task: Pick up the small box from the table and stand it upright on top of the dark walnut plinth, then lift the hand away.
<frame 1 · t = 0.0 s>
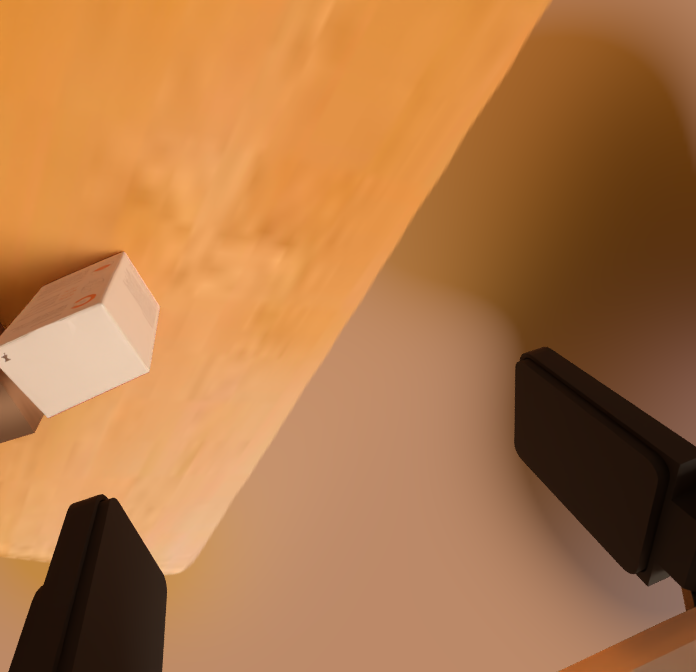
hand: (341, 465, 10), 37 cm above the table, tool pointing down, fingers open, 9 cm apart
small box: (104, 296, 42), on the table
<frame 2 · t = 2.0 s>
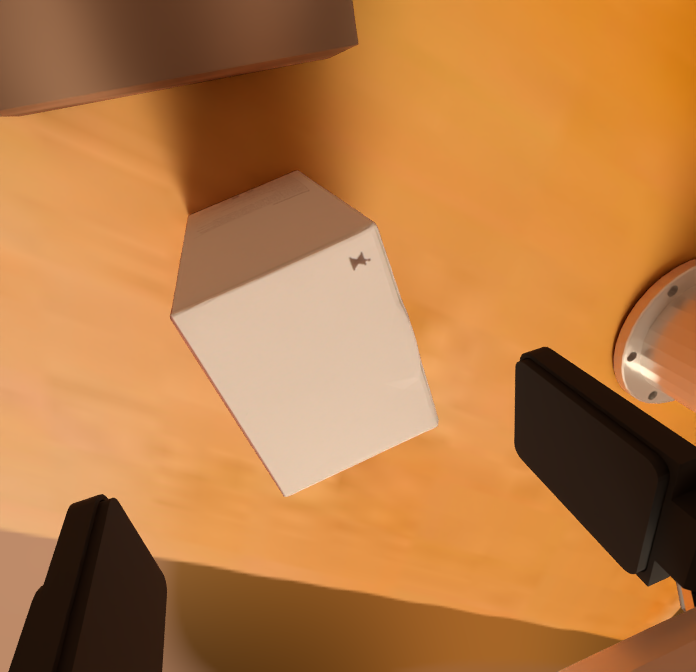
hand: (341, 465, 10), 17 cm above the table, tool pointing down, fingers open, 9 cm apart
small box: (273, 258, 25), on the table
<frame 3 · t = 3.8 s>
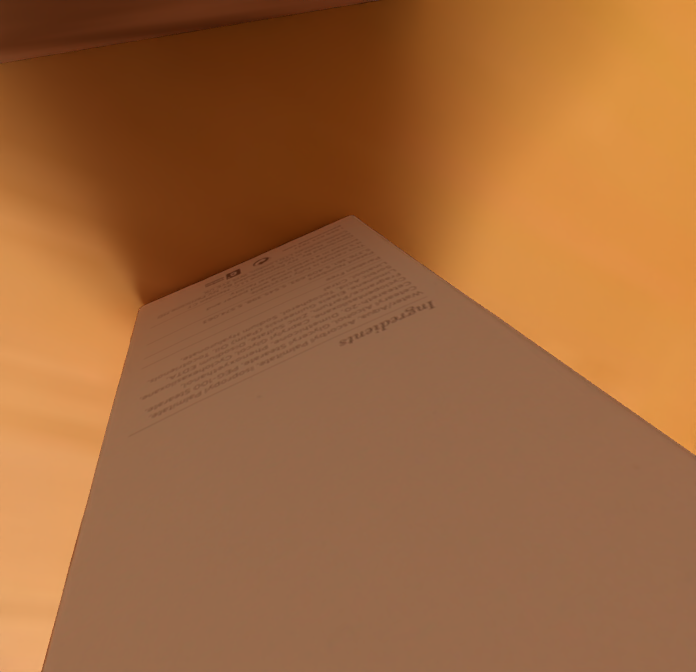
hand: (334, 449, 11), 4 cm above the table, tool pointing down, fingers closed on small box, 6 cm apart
small box: (300, 367, 14), on the table, touching gripper
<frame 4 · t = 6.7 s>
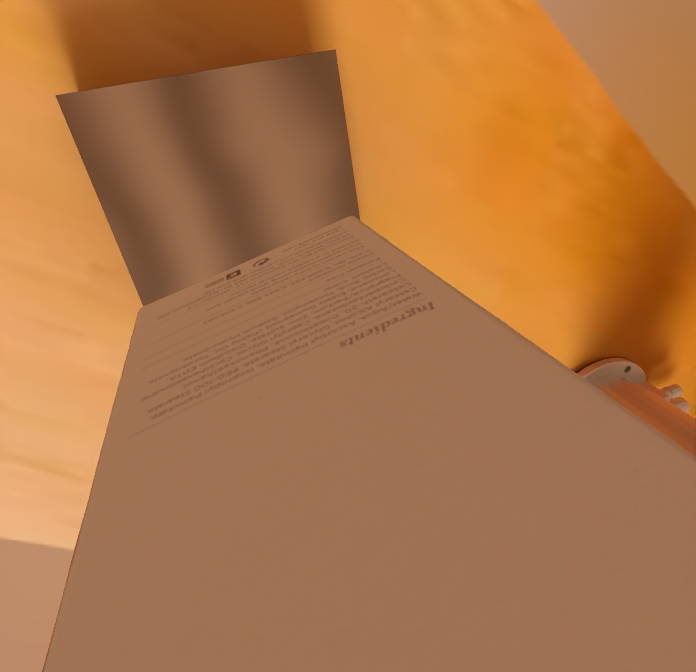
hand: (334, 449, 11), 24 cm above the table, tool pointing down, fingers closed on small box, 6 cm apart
walnut plinth: (234, 196, 30), on the table
small box: (301, 367, 14), point 20 cm above the table, touching gripper
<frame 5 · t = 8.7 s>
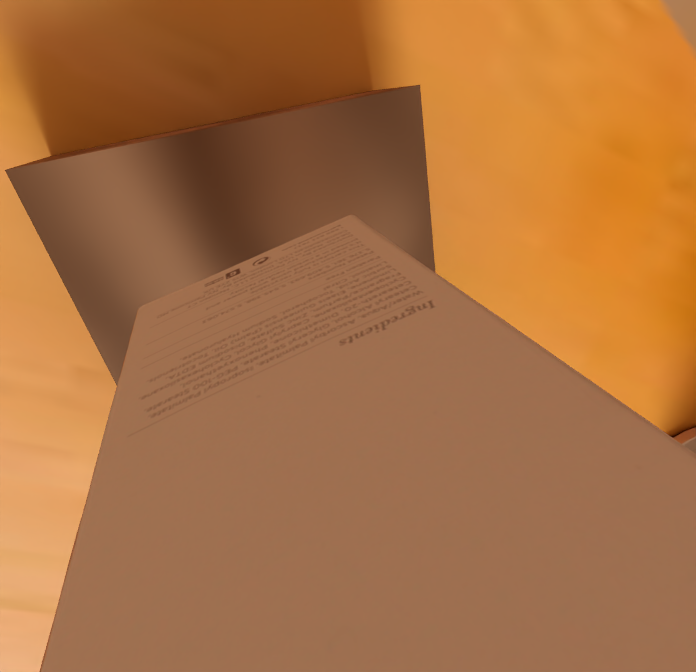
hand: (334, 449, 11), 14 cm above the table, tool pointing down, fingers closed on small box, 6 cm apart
walnut plinth: (264, 271, 23), on the table
small box: (300, 367, 14), point 10 cm above the table, touching gripper
when the fingers open (10 cm above the table, at t = 10.1 s): small box stays where it is, resting on walnut plinth.
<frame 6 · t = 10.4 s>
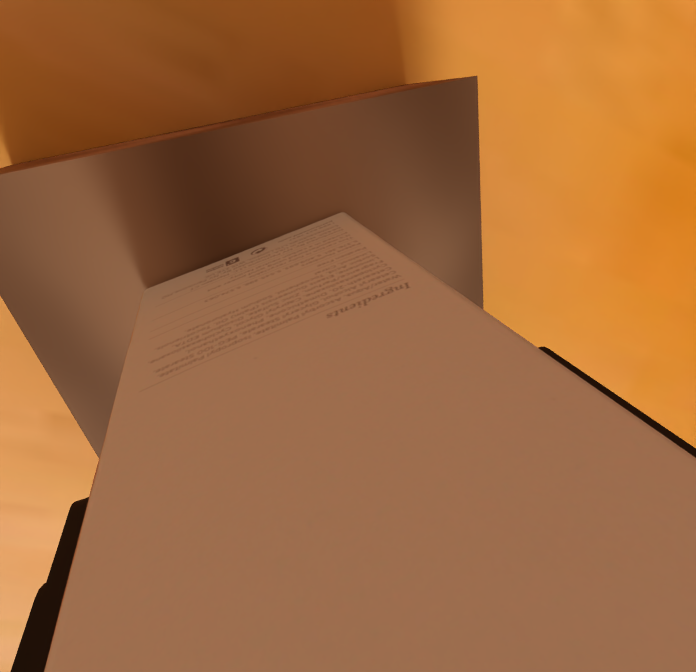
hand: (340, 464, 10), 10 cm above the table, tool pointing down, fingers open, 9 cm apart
walnut plinth: (273, 299, 19), on the table
small box: (291, 353, 15), point 5 cm above the table, touching walnut plinth
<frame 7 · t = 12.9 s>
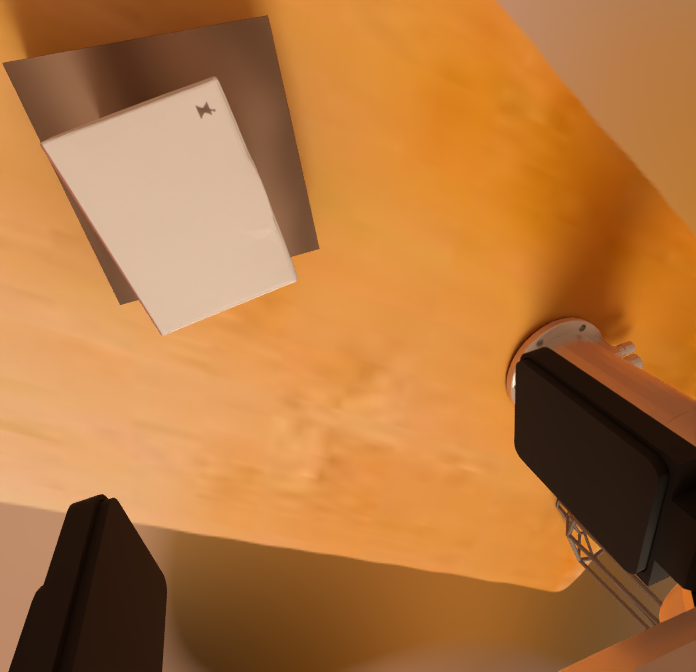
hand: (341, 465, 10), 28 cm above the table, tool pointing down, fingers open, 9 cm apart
walnut plinth: (187, 162, 32), on the table
small box: (186, 172, 28), point 5 cm above the table, touching walnut plinth
geometric lantern: (586, 498, 68), on the table
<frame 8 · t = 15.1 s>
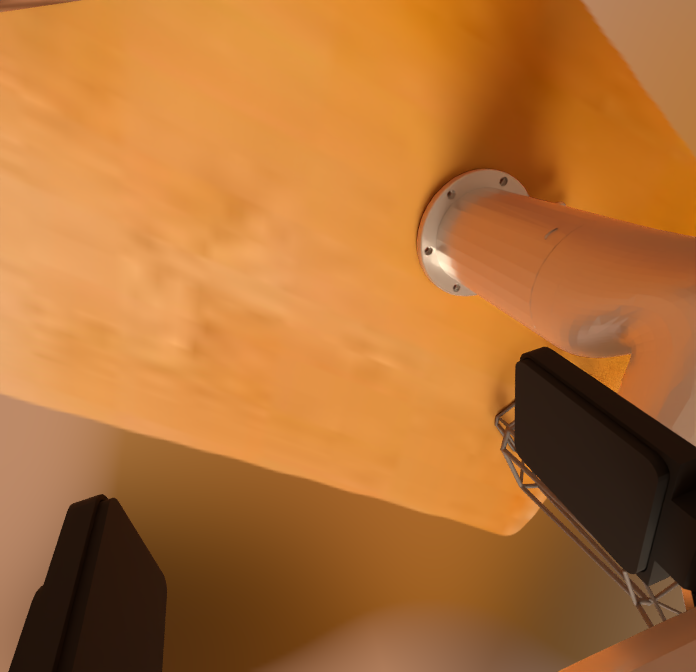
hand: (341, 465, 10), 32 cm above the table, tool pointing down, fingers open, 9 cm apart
geometric lantern: (532, 419, 61), on the table
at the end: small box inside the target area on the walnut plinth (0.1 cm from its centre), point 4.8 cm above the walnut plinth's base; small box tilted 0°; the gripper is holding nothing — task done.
